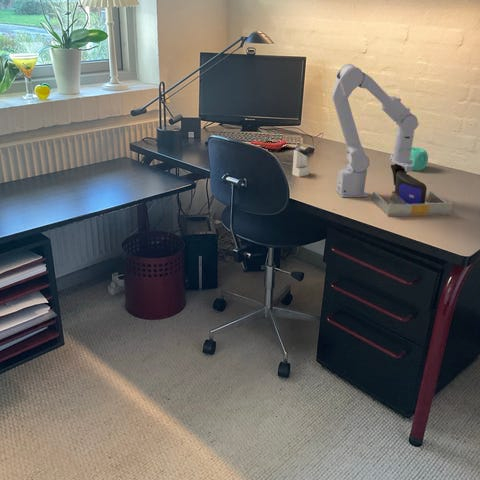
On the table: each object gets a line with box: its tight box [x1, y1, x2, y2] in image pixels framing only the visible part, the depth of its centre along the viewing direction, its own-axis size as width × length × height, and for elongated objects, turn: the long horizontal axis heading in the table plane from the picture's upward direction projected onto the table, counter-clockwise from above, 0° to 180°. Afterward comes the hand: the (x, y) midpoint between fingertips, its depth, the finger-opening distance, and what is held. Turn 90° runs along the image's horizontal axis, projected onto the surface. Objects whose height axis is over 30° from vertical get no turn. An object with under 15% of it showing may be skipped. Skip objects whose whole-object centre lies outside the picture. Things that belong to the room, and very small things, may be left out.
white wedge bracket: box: [291, 149, 311, 178], centre depth 207 cm, size 4×10×9 cm, turn 129°
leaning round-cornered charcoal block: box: [394, 171, 428, 203], centre depth 179 cm, size 16×5×9 cm, turn 16°
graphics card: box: [251, 139, 288, 153], centre depth 245 cm, size 20×32×4 cm, turn 66°
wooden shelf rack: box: [371, 190, 453, 217], centre depth 178 cm, size 21×15×4 cm
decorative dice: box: [410, 146, 429, 172], centre depth 220 cm, size 8×8×8 cm
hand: (397, 185), depth 189 cm, fingers closed
